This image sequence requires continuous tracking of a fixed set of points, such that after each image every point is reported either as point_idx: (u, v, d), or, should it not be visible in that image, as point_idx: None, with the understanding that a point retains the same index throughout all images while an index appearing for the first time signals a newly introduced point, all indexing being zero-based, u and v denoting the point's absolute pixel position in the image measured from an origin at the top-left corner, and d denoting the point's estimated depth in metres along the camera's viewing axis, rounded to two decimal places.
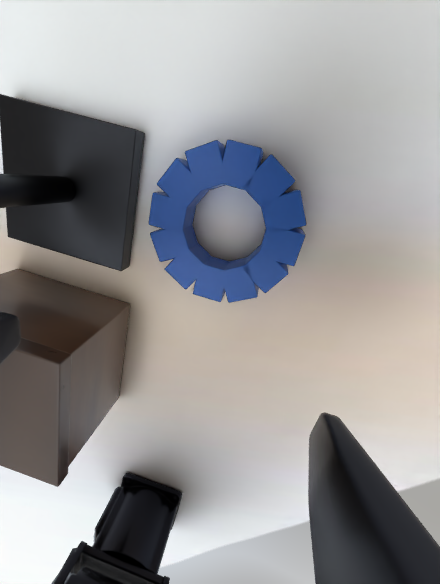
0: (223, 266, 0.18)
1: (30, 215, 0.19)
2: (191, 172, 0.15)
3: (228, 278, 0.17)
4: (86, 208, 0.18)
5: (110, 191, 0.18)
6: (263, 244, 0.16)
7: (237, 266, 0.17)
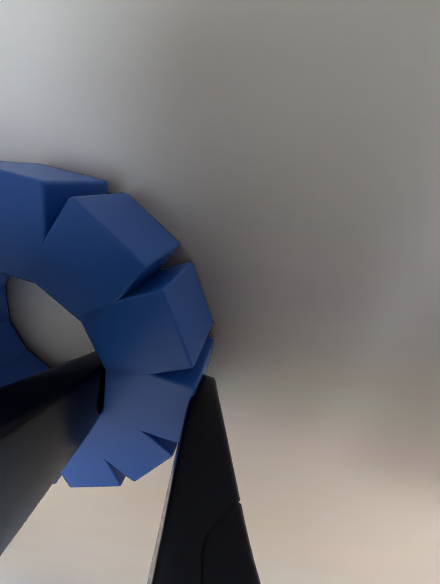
0: None
1: None
2: None
3: None
4: None
5: None
6: (106, 398, 0.07)
7: None
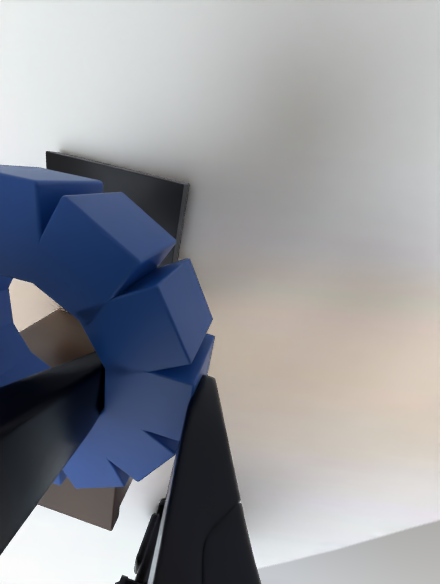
0: None
1: None
2: None
3: None
4: None
5: None
6: (107, 397, 0.07)
7: None
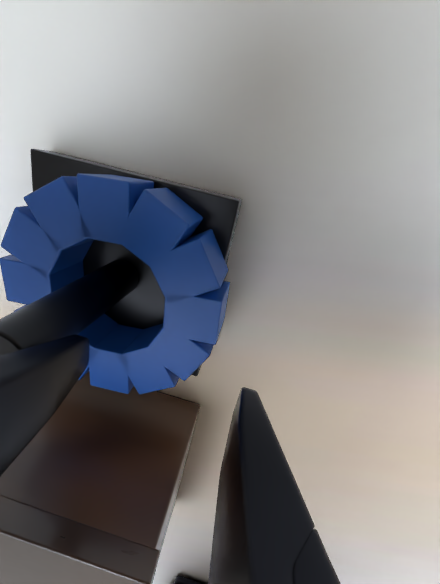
0: (125, 345, 0.12)
1: None
2: (41, 226, 0.10)
3: (130, 364, 0.12)
4: (153, 299, 0.13)
5: None
6: (165, 318, 0.11)
7: (139, 347, 0.12)
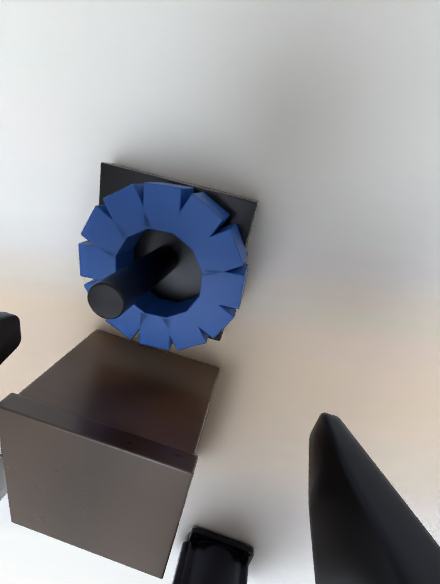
0: (167, 311, 0.16)
1: None
2: (114, 220, 0.14)
3: (172, 325, 0.16)
4: (188, 278, 0.17)
5: None
6: (202, 288, 0.15)
7: (180, 312, 0.16)
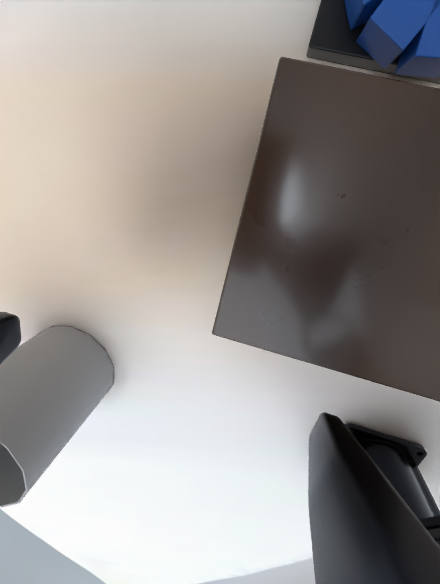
0: None
1: None
2: None
3: None
4: None
5: None
6: None
7: None
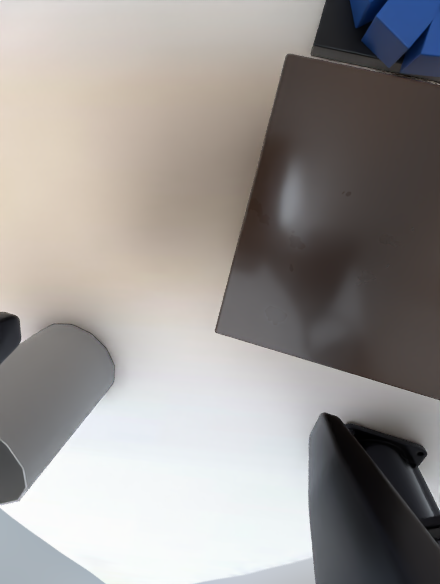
0: None
1: None
2: None
3: None
4: None
5: None
6: None
7: None
